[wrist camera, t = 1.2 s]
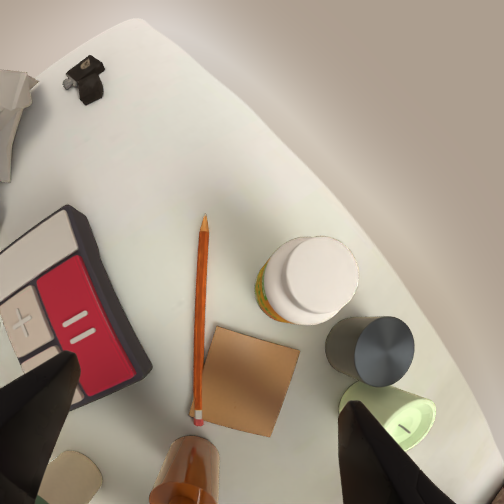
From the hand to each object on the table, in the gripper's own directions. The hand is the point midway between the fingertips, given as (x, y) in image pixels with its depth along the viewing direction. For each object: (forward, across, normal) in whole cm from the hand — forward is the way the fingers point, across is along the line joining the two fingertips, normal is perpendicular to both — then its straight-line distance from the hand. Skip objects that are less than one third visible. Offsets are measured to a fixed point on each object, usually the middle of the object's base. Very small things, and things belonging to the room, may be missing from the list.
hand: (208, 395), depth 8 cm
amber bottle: (+6, +1, +17) cm, 18 cm away
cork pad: (+10, -2, +11) cm, 15 cm away
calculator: (+12, +14, +10) cm, 20 cm away
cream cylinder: (+2, +12, +22) cm, 25 cm away
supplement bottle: (+15, -5, +5) cm, 17 cm away
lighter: (+28, +20, -13) cm, 36 cm away
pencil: (+13, +2, +8) cm, 15 cm away
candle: (+10, -13, +12) cm, 21 cm away
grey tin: (+13, -11, +8) cm, 19 cm away
